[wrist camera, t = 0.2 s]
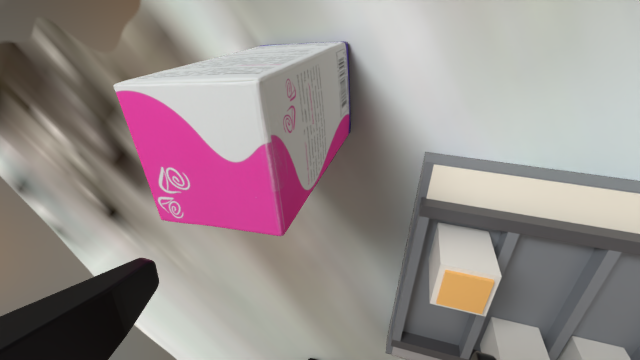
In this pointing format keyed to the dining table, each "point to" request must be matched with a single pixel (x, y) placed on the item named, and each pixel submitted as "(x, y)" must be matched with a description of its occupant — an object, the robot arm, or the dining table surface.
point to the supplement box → (240, 133)
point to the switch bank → (525, 257)
